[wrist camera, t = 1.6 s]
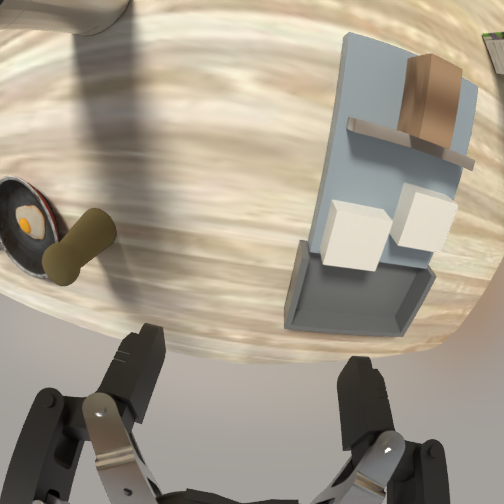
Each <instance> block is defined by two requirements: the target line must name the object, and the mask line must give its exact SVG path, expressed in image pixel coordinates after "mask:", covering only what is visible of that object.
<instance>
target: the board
mask: <svg viewBox="0 0 504 504" xmlns="http://www.w3.org/2000/svg"><path fill="white" fill-rule="evenodd" d="M416 56H418V55H416V54H413V53H411V52H408V51H406V50H403V49H401V48H398V47H395V46H393V45H390V44H387V43H384V42H381V41H378V40H375V39H372V38H368V37H365V36H362V35H358V34H355V33H351V32H349V33H347V34H346V35H345V36H344V37H343V44H342V53H341V61H340V69H339V76H338V83H337V90H336V97H335V104H334V110H333V116H332V123H331V129H330V134H329V140H328V146H327V151H326V157H325V162H324V167H323V173H322V178H321V183H320V188H319V193H318V197H317V202H316V207H315V212H314V216H313V221H312V225H311V230H310V234H309V239H308V245H309V250H310V252H312V253H320V250H319V249H320V245H321V241H322V237H323V234H324V229H325V225H326V221H327V217H328V213H329V209H330V204H331V200H337V201H343V202H348V203H354V204H359V205H364V206H369V207H374V208H379V209H384V211H385V212H386V213H387V214H388V216H389V217H390V218H391V219H392V220H393V217H394V214H395V211H396V208H397V204H398V201H399V198H400V194H401V191H402V187H403V184H404V182H405V183H408V184H412V185H416V186H419V187H423V188H426V189H429V190H433V191H436V192H439V193H442V194H445V195H447V196H448V197H449V198H451V199H452V200H454V197H455V194H456V191H457V187H458V184H459V181H460V177H461V174H462V170H463V167H461V166H459V165H456V164H454V163H451V162H449V161H446V160H444V159H441V158H438V157H436V156H433V155H430V154H427V153H424V152H421V151H418V150H415V149H412V148H409V147H406V146H403V145H400V144H396V143H393V142H390V141H386V140H383V139H379V138H375V137H372V136H368V135H364V134H360V133H356V132H353V131H351V130H349V129H346V126H347V120H348V117H352V118H356V119H360V120H364V121H368V122H371V123H375V124H379V125H382V126H385V127H389V128H392V129H395V130H397V126H398V121H399V115H400V109H401V104H402V97H403V91H404V84H405V76H406V68H407V59H408V58H411V57H416ZM477 94H478V86H476V85H475V84H473V83H471V82H470V81H468V80H466V79H464V78H463V77H462V80H461V89H460V97H459V104H458V110H457V116H456V122H455V127H454V132H453V137H452V141H451V146H450V149H451V150H453V151H455V152H458V153H460V154H462V155H464V156H466V154H467V150H468V146H469V141H470V136H471V132H472V126H473V121H474V115H475V108H476V102H477ZM433 253H434V252H431V251H426V250H420V249H415V248H409V247H403V246H398V245H397V244H396V242H395V241H394V239H393V238H392V236H391V235H390V233H389V235H388V238H387V241H386V244H385V246H384V249H383V252H382V255H381V257H380V260H379V262H383V263H390V264H397V265H403V266H410V267H417V268H424V269H427V266H428V264H429V262H430V260H431V257H432V255H433Z"/></svg>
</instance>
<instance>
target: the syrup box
mask: <svg viewBox="0 0 504 504" xmlns="http://www.w3.org/2000/svg"><path fill="white" fill-rule="evenodd" d="M482 36H483V39H484V41H485V44H486V46H487V49H488V51H489V54H490V57H491V59H492V62H493V65H494V68H495V71H496V73H497V74H504V32H496V33H483V34H482Z"/></svg>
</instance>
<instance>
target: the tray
mask: <svg viewBox="0 0 504 504" xmlns="http://www.w3.org/2000/svg"><path fill="white" fill-rule="evenodd" d="M435 279H436V275H435V273H434V272H433V271H432V269H431V268H430V266H429V265H428V266H427V269H424V268H417V267H410V266H403V265H397V264H390V263H383V262H378V265H377V268H376V270H375V271H367V270H360V269H352V268H345V267H337V266H330V265H323V263H322V259H321V254H320V253H312V252H310V250H309V245H308V241H303V240H300V241H299V246H298V250H297V255H296V259H295V264H294V268H293V272H292V277H291V281H290V285H289V290H288V294H287V298H286V302H285V306H284V329H291V330H301V331H312V332H323V333H336V334H351V335H369V336H394V337H403V336H404V334H405V332H406V331H407V329H408V327H409V326H410V324H411V322H412V321H413V319H414V317H415V316H416V314H417V312H418V310H419V309H420V307H421V305H422V303H423V302H424V300H425V298H426V296H427V294H428V292H429V290H430V288H431V286H432V284H433V283H434V281H435Z"/></svg>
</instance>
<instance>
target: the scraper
mask: <svg viewBox="0 0 504 504" xmlns="http://www.w3.org/2000/svg"><path fill="white" fill-rule="evenodd" d="M462 70H463V69H461V68H459V67H457V66H455V65H454V64H452V63H450V62H448V61H446V60H444V59H442V58H440V57H438V56H436V55H434V54H426V55H421V56H416V57H411V58H408V59H407V68H406V76H405V84H404V91H403V97H402V104H401V109H400V115H399V121H398V126H397V130H395V129H392V128H389V127H385V126H382V125H379V124H375V123H371V122H368V121H364V120H360V119H356V118H352V117H348V120H347V126H346V129H349V130H351V131H353V132H356V133H360V134H364V135H368V136H372V137H375V138H379V139H383V140H386V141H390V142H393V143H396V144H400V145H403V146H406V147H409V148H412V149H415V150H418V151H421V152H424V153H427V154H430V155H433V156H436V157H438V158H441V159H444V160H446V161H449V162H451V163H454V164H456V165H459V166H461V167H464V168H466V169H468V170H471V171H472V170H473V167H474V163H475V160H473V159H471V158H469V157H466V156H464V155H462V154H460V153H458V152H455V151H453V150H451V149H450V146H451V141H452V137H453V132H454V127H455V122H456V116H457V110H458V104H459V97H460V89H461V80H462Z"/></svg>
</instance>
